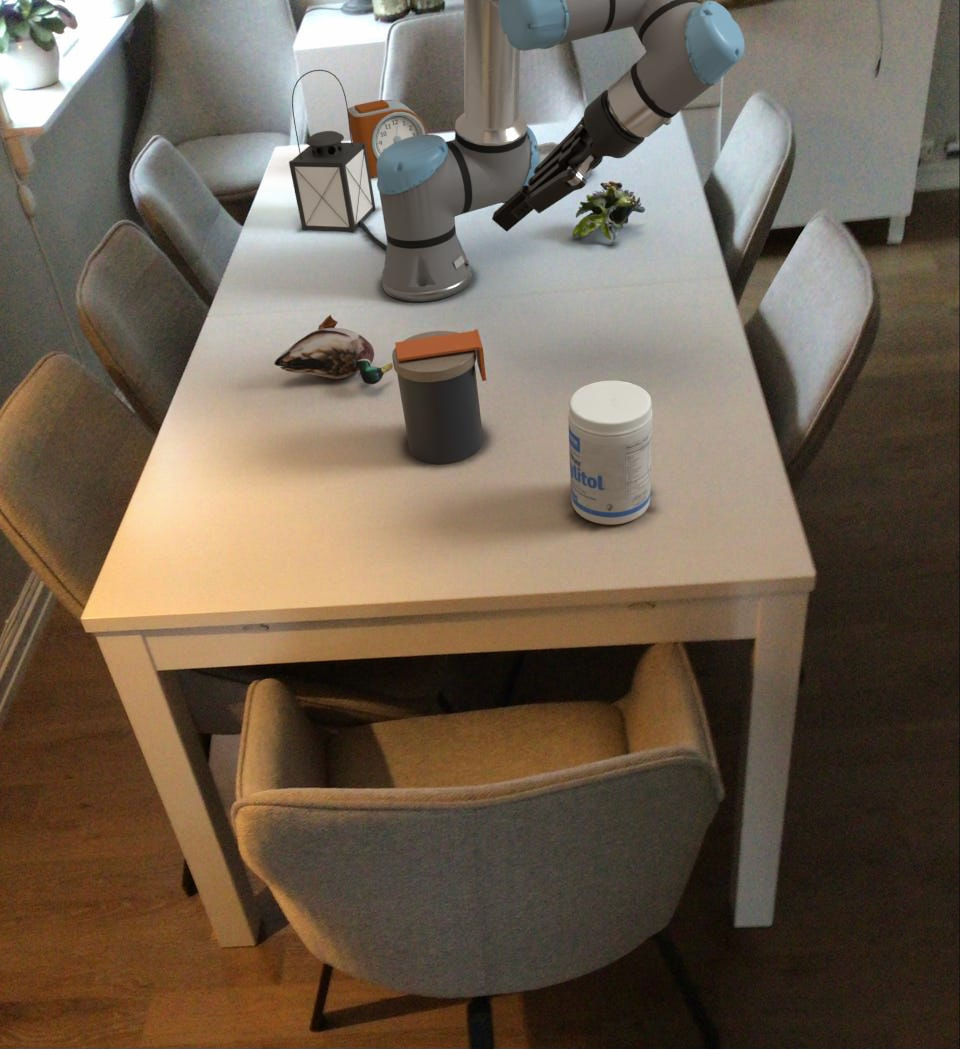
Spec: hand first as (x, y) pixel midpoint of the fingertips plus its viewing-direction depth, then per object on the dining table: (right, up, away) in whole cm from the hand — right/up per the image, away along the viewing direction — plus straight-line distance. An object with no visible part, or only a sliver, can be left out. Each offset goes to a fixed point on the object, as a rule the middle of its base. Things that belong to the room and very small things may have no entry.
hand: (500, 222), depth 145 cm
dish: (+13, +30, +74) cm, 81 cm away
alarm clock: (-21, +36, +87) cm, 97 cm away
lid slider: (-8, -22, -6) cm, 24 cm away
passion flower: (+20, +10, +48) cm, 53 cm away
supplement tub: (+13, -38, -14) cm, 43 cm away
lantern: (-30, +19, +66) cm, 75 cm away
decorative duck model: (-24, -20, +15) cm, 35 cm away
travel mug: (-7, -30, 0) cm, 31 cm away
